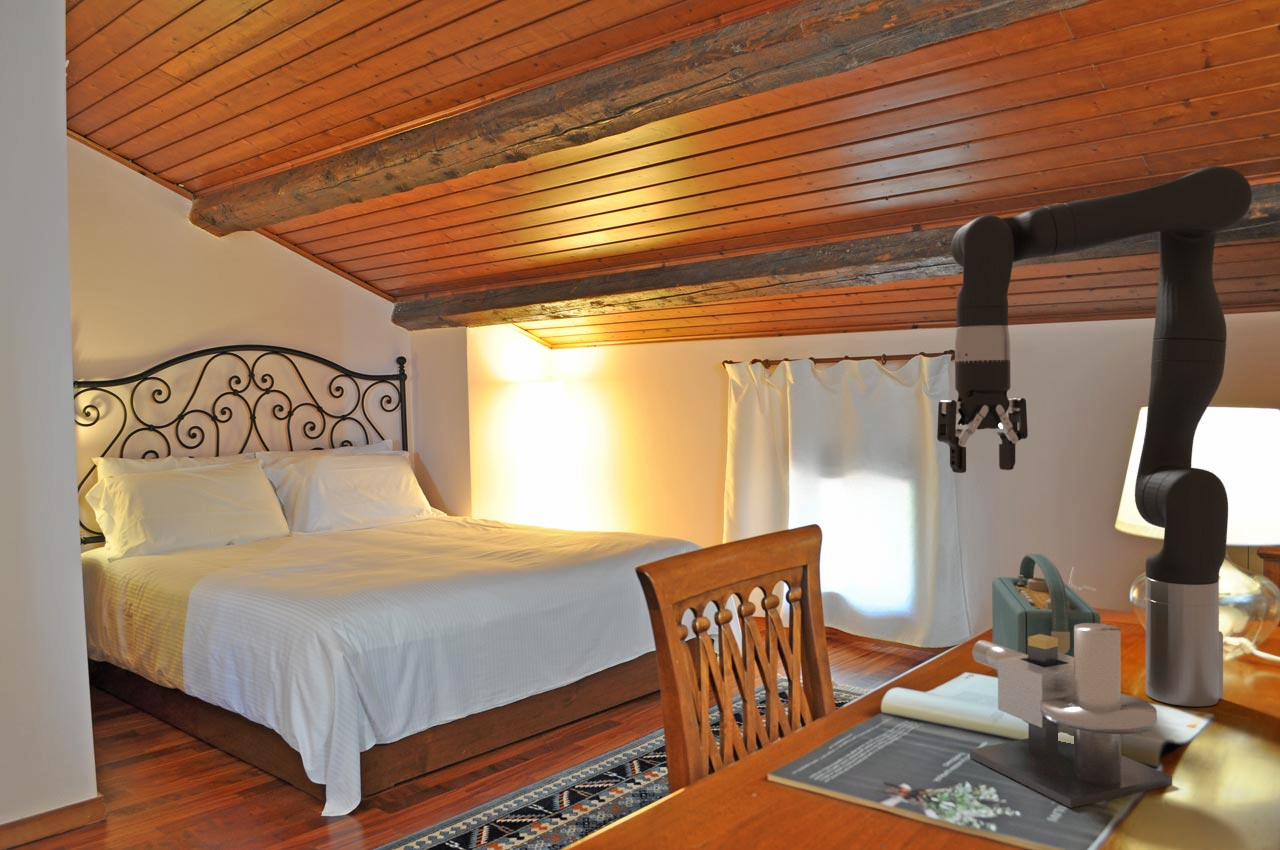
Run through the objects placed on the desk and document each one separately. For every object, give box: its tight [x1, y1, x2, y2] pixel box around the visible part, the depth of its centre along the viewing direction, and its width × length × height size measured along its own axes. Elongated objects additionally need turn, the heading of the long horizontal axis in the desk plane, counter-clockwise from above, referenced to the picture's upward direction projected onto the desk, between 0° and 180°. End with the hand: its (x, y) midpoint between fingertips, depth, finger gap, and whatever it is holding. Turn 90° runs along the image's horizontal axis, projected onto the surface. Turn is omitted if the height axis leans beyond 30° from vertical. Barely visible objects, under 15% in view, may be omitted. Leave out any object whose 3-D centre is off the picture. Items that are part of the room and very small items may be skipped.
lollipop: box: [1067, 567, 1098, 592], centre depth 181 cm, size 6×10×12 cm, turn 44°
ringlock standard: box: [969, 623, 1173, 809], centre depth 119 cm, size 15×25×18 cm, turn 22°
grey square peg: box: [1027, 634, 1059, 756], centre depth 120 cm, size 2×2×14 cm
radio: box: [991, 553, 1101, 676], centre depth 146 cm, size 26×11×20 cm, turn 169°
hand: (983, 471), depth 143 cm, fingers open, 8 cm apart
